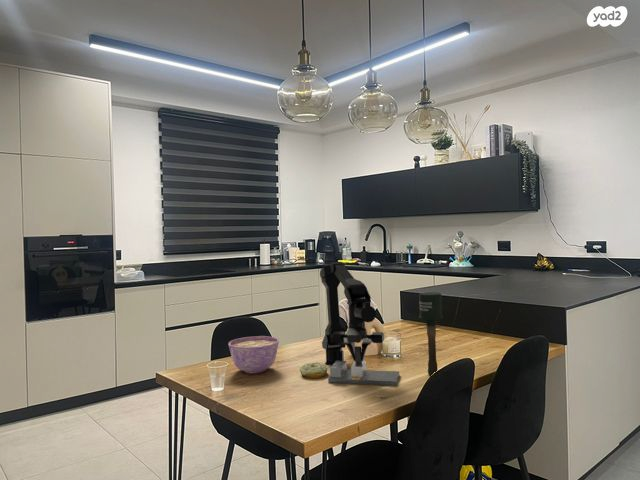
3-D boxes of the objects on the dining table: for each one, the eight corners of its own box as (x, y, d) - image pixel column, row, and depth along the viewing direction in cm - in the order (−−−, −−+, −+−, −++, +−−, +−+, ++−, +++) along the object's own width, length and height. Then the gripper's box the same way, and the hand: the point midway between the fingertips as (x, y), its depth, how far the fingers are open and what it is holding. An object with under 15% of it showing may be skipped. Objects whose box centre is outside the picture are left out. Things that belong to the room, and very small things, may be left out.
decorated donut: (300, 380, 174) (300, 369, 174) (299, 371, 185) (299, 362, 185) (328, 378, 175) (328, 368, 175) (326, 370, 186) (325, 360, 186)
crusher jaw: (351, 377, 169) (350, 349, 169) (355, 371, 177) (354, 344, 177) (362, 377, 168) (361, 349, 168) (366, 371, 176) (365, 344, 176)
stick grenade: (418, 372, 177) (415, 292, 177) (440, 371, 178) (437, 291, 178) (425, 379, 169) (421, 295, 168) (448, 377, 169) (445, 294, 169)
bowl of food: (219, 376, 183) (218, 346, 182) (245, 362, 201) (244, 335, 201) (266, 379, 176) (264, 348, 176) (288, 365, 195) (287, 337, 194)
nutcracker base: (328, 382, 169) (327, 368, 169) (336, 372, 181) (335, 359, 181) (395, 385, 163) (395, 371, 163) (399, 375, 174) (398, 361, 174)
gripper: (326, 321, 167) (328, 366, 167) (379, 322, 162) (381, 367, 162) (333, 316, 178) (335, 357, 178) (383, 316, 173) (385, 359, 173)
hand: (358, 360), depth 172 cm, fingers closed on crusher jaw, 2 cm apart
